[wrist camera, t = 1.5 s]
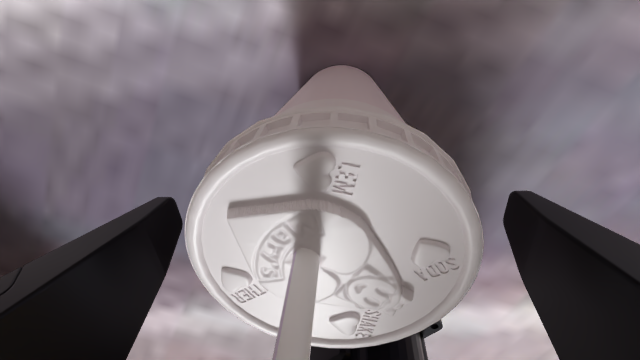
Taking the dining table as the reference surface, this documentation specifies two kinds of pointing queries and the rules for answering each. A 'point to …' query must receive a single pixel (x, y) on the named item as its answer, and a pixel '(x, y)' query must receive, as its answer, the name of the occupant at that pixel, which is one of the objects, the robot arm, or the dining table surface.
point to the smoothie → (334, 222)
